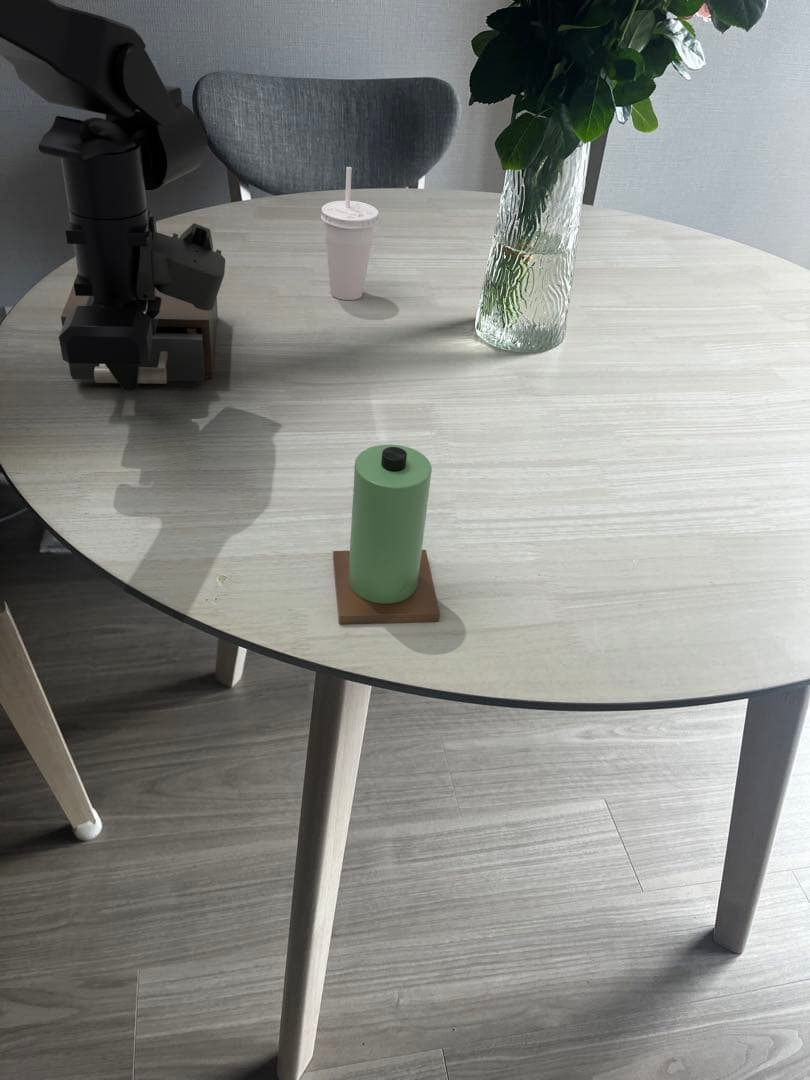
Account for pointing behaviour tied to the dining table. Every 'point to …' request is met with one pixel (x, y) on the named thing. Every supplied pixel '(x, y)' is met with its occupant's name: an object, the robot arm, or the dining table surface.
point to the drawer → (159, 359)
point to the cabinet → (172, 321)
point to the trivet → (362, 611)
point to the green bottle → (388, 522)
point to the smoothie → (348, 243)
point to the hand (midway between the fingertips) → (130, 388)
